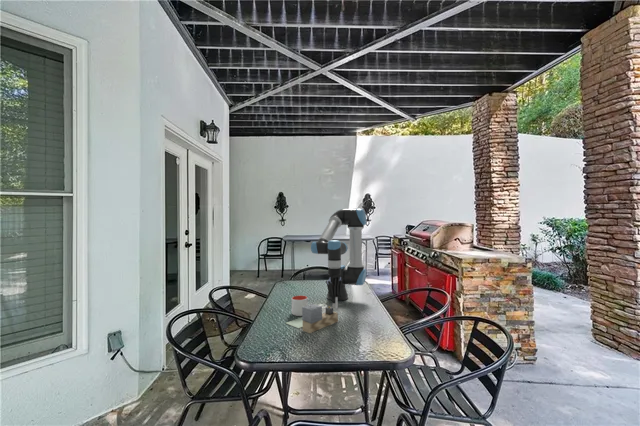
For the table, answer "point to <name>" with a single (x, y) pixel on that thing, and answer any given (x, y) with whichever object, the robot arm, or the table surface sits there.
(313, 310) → the gray cube on plate
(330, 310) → the latch
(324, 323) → the long wooden block
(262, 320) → the table surface
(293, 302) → the cup
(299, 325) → the mat
